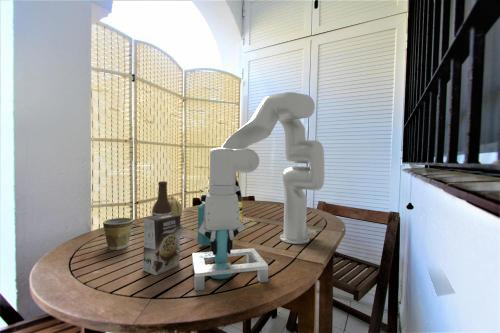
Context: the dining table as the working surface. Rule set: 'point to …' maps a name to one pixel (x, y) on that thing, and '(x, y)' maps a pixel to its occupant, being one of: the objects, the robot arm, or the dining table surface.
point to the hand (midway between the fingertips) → (221, 252)
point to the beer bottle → (162, 201)
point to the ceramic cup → (117, 232)
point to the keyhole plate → (227, 266)
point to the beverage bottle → (201, 237)
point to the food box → (161, 243)
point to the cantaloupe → (173, 206)
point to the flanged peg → (221, 251)
